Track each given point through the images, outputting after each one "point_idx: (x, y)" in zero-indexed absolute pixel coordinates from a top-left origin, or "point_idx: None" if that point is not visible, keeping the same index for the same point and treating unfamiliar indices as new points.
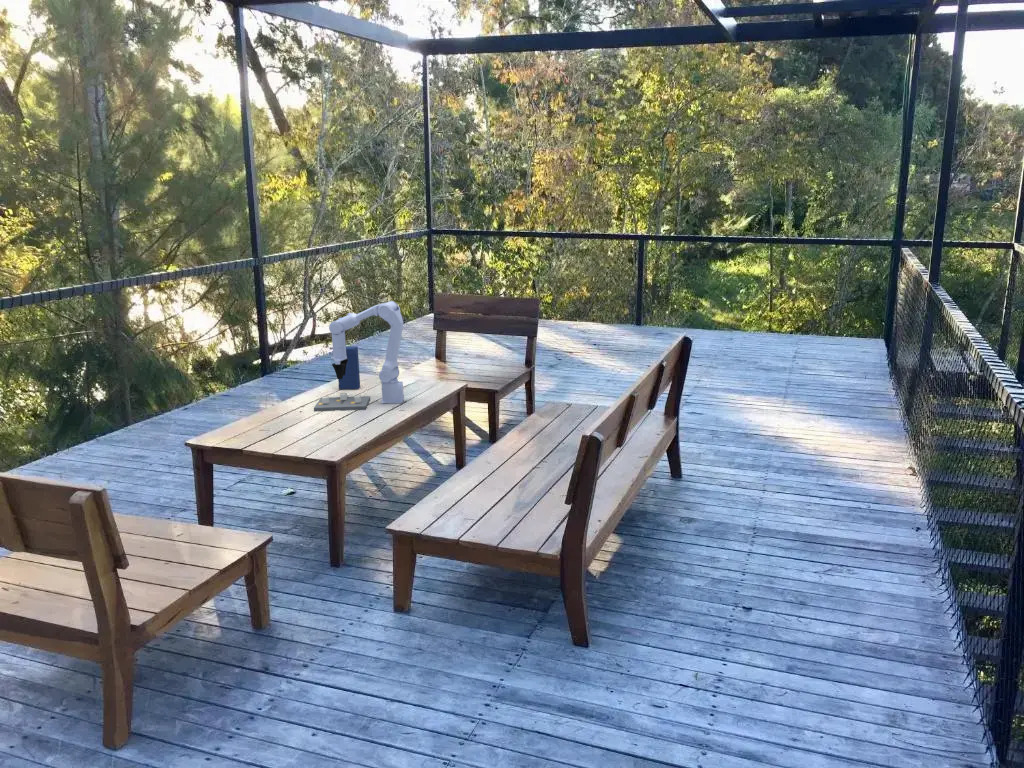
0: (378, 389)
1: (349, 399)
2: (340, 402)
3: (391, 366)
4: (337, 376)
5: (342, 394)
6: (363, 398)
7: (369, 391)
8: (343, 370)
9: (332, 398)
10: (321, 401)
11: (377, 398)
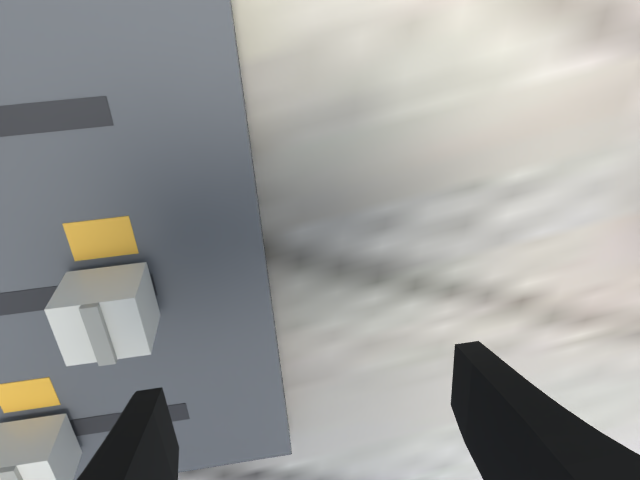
0: (618, 397)
1: (156, 332)
2: (6, 284)
3: None
4: (115, 438)
5: (69, 331)
6: (206, 429)
7: (572, 355)
8: (492, 466)
9: (189, 144)
10: (6, 35)
11: (320, 462)
